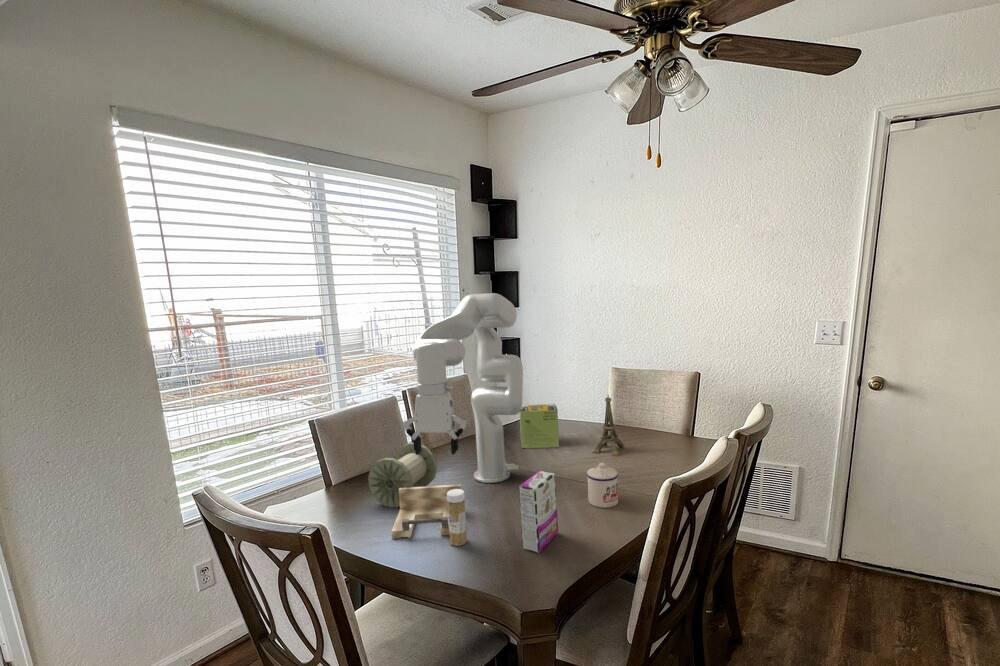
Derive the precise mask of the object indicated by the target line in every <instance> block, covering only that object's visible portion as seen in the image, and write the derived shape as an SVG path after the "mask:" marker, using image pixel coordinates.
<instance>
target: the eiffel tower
mask: <svg viewBox="0 0 1000 666" xmlns="http://www.w3.org/2000/svg"><path fill="white" fill-rule="evenodd" d="M604 402H606V403H605V416H604V425H602V429H603V431H602V435H601V437H600V440H599V442H598V443H597V445H596V446H595V448H594V450H593V451H592V452H591V454H597V455H600V454H601V453H602V449H603V448H606V449H607V448H608V447H609V445H611V451H612V453H611V457H615V458H616V457H618V458H619V457H620V456H621V455H622V454H621V453H620V451H626V450H628V447H626V446H625V444H624V443H623V442H622V440H621V439H620V438H619V435H617V432H616V427H617V426H616V424H615V423H614V419H613V418H614V417H613V412H612V404H611V402H612V397H609V395H607V397H605V399H604ZM617 447H618V448H617Z"/></svg>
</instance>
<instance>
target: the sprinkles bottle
mask: <svg viewBox="0 0 1000 666" xmlns="http://www.w3.org/2000/svg"><path fill="white" fill-rule="evenodd" d="M465 498H466V493H465V491H464V490H463V489H462V488H461V489H453V490H450V491H448V492H447V501H448V510H449V531H450V535H449V543H450V545H452V546H455V547H458V546H460V547H461V546H463V545H465V544H466V543H467V541H468V539H467V519H466V507H465V501H466V500H465Z"/></svg>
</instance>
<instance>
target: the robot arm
mask: <svg viewBox="0 0 1000 666" xmlns="http://www.w3.org/2000/svg"><path fill="white" fill-rule="evenodd" d="M517 316H518V315H517V310H516V307H515V305H514V304H513V302H511V301H510V300H508V299H507V298H506V297H505V296H503V295H502V294H499V293H495V292H492V293H491V292H490V293H489V292H488V293H486V292H485V293H471V294H468V295H465V296H464V297H463V298H462V300H460V302H459V303H458V304H457V306H456V307H455V309H454V310H453V312H452V313H451V315H449V316H448V317H446V318H444V319H441V320H440V321H438V322H436V323H434V324H432V325H430V326H428V327H427V328H426V329H425V330H424V331H423V332H422V333H421V334H420V335H419V337H418V338H417V340H416V342H415V343H414V346H413V350H412V356H413V359H414V361H415V362H416V375H417V390H418V394H416V396H415V401H414V416H413V417H410V418H409V419H407V420H405V421H403V422H402V427H403V428H404V430H405V432H406V434H408V436H409V437H410V438H411V440H412V441H413V443H414V451H416V455H418V454H419V453H420V452H421V451H422V447H421V444H422V437H421V436H420V435H421V434H423V433H424V434H438V433H439V434H441V433H442V434H445V433H447V434H448V435H449V436H450V437H451V439H450V448H451V450H450V451H451V452H450V453H451V455H455V454H456V453H457V451H458V450H459V437H460V436H461V435H462V434H463V432H464V431H465V429H466V427H467V424H468V421H467V420H465V419H464V418H461V417H460V416H458V415H456V414H455V409H454V404H453V403H454V402H453V398H452V395H451V392H449V391H451V390H453V384H450V383H448V381H447V380H448V379H447V378H448V377H447V367H455V366H458V365H460V364H461V363H462V362H463V361H464V359H465V355H466V348H465V345H464V344H463V342H462V340H464V339H467V338H469V337H471V336H472V335H473V333H474V335H475V338H476V342H477V349H476V350H477V353H476V354H477V356H476V376H477V378H478V380H479V381H481V382H483V383H506V384H507V386H495V385H492V386H491V385H486V386H478V387H477V388H474V390H473V391H472V393H471V395H470V402H471V404H470V405H471V407H472V413H473V417H474V423H475V425H474V426H475V438H476V439H475V441H476V443H475V444H476V456H477V457H476V459H477V470H476V471H474V473H473V479H475V481H478V482H479V483H485V484H496V483H500V482H503V481H506V480H508V479H509V478H510V476H511V472H518V471H519V465H518V464H517V465H516V464H515V463H508V462H507V460H506V457H505V455H506V454H505V439H504V437H505V436H504V434H505V433H504V425H503V422H502V421H501V419H500V417H499V416H516V415H518V414H520V411H521V408H522V406H523V393H524V392H523V389H524V388H523V386H524V381H523V380H524V370H523V369H524V368H523V363H522V360H521V358H520V357H519V356H518V355H514V354H503V351H502V350H503V341H502V338H501V337H500V335H499V333H498V332H497V331H496V330H495V329H497V328H498V329H500V328H502V329H503V328H504V329H505V328H506V329H507V328H511V327H513V326H514V325H515V323H516V321H517ZM412 423H414V429H413V428H412V427H411V424H412ZM456 424H458V425H460V426H459V429H458V430H457V429H456V428H455V426H456Z"/></svg>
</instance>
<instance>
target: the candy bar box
mask: <svg viewBox="0 0 1000 666" xmlns="http://www.w3.org/2000/svg"><path fill="white" fill-rule="evenodd" d="M556 488H557V487H556V473H554V472H549V471H543V470H538V471H537V472H536V473H534V474H533V475H532V476H530V477H529V478H528V479H527V480H525V481H524V482H523V483H521V484H520V485H519V486H518V493H519V504H520V506H519V509H520V520H521V521H520V522H521V524H520V525H521V536H522V540H521V541H522V549H523V550H526V551H530V552H534V553H538V554H539V553H541V552H542V551H543V550H544V549H545V548H546V547H547V546H548V544H549V543H551V541H552V540H553V539H554V538H555V537H556V536H557V535H558V534H559V525H558V524H559V523H558V507H557V492H556V491H557V490H556Z"/></svg>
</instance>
